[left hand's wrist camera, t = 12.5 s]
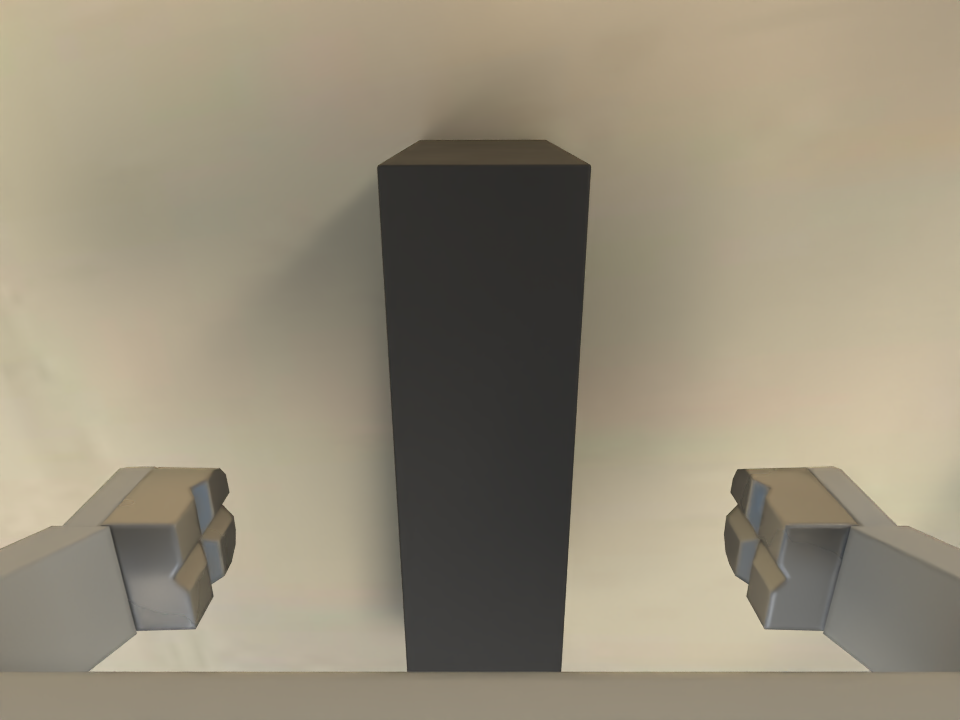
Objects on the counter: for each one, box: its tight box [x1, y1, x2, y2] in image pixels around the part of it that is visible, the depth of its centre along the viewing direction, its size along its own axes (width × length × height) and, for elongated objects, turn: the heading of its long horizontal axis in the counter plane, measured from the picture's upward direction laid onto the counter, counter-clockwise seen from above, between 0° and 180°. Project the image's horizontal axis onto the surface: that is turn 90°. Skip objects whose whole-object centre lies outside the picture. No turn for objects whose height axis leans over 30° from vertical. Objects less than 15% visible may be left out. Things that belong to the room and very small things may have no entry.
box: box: [377, 140, 591, 672], centre depth 28 cm, size 26×6×12 cm, turn 0°
